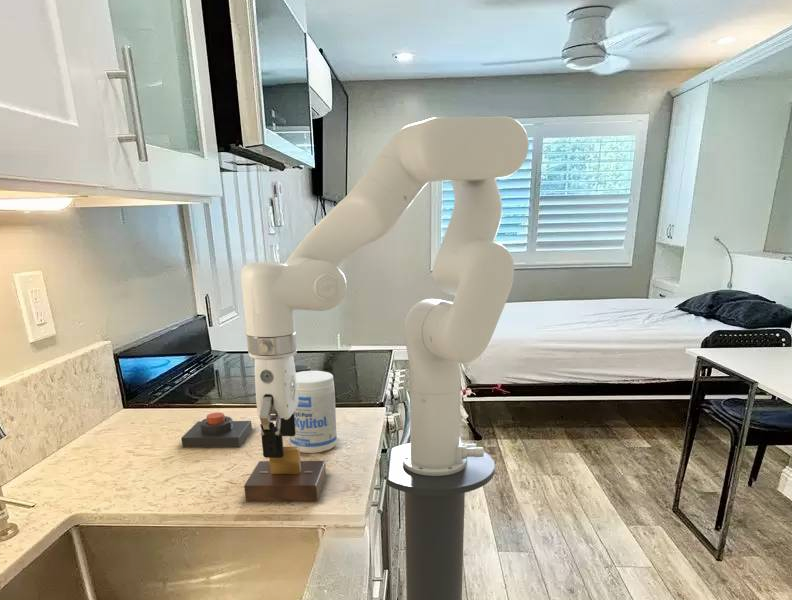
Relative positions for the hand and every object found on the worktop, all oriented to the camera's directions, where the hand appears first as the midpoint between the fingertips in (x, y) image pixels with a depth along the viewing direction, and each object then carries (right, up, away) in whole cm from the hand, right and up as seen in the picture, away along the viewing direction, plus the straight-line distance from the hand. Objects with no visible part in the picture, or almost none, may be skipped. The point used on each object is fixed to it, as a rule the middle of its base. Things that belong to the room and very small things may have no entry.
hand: (280, 445), depth 96 cm
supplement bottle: (-2, +6, +38) cm, 38 cm away
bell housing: (-18, +1, +27) cm, 32 cm away
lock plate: (+1, -7, +3) cm, 8 cm away
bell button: (-18, +5, +25) cm, 32 cm away
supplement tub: (+3, 0, +21) cm, 21 cm away
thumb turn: (+1, -5, +2) cm, 5 cm away
